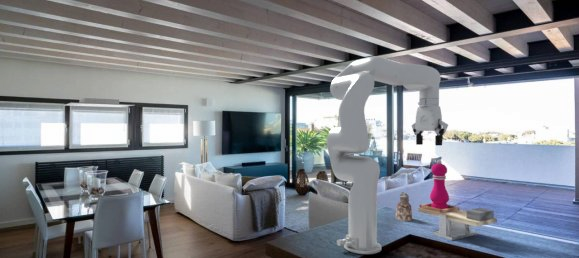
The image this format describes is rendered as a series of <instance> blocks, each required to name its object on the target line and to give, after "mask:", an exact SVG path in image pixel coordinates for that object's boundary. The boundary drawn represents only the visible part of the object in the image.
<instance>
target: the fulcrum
mask: <svg viewBox="0 0 579 258" xmlns="http://www.w3.org/2000/svg"><path fill="white" fill-rule="evenodd" d="M462 210H463V211H467V210H465V209H462ZM438 221H439V222H438V224H439V225H438V226H439V228H438V229H439V230H436V231H433V235H434V236H438V237H440V238H443V239H446V240H449V241H455V240H459V239H465V238H468V237H469V238H470V237H472V236H477V235H478V232H477V231H475V230H471V228H472V227H471V226H472V225H468V224H464V223H460V222H457V221H453V220H449V219H448V216H447V215H443V214H439V217H438ZM464 237H465V238H464Z"/></svg>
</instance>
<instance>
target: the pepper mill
mask: <svg viewBox="0 0 579 258" xmlns="http://www.w3.org/2000/svg"><path fill="white" fill-rule="evenodd" d="M430 171H431V173H432V174H433V175H432V179H433V187H432V189H431V191H430V194H429V199H430V201H431V202H430V203H431V207H433V208H437V209H448V205H449V204H448V202H449V201H450V196H449V193H448V190H447V188H446V181H445V180H446V179H447V178H446V177H447V175H446V174H447V173H448V167H447V166H446V165H445V164H443V163H442V160H441V159H437V161H436V163H434V164H433V165H432V166H431V169H430Z"/></svg>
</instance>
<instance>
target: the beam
mask: <svg viewBox="0 0 579 258" xmlns="http://www.w3.org/2000/svg"><path fill="white" fill-rule="evenodd" d="M431 203H432V202H430V203H429V202H428V203H424V204H419V207H418V212H419V213H422V214H427V215H429V216H433V217H438V218H439V214H443V215H447V216H448V219H449V220H453V221H457V222H460V223H464V224H468V225H471V226H473V227H481V226H487V225H491V224H496V223H498V218H496V217H494V214H495V213H494V211H495V210H493V209H492V210H491V209H488V208H487V209H486V208H484V207H483V208H482V207H478V208H471V209H467V210H466V211H463V210H464V209H460V206H456V205H450V204H448V209H437V208H433V207H431Z"/></svg>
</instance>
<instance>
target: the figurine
mask: <svg viewBox="0 0 579 258" xmlns="http://www.w3.org/2000/svg"><path fill="white" fill-rule="evenodd" d="M409 199H410V198H409V195H408V194H407V192H404V191H402V192H401V193H400V195H399V202H398V203H397V204H396V209H395V211H396V212H395V219H396V220H398V221H401V222H411V221H413V212H412V205H411V203H410V202H409V201H410V200H409Z"/></svg>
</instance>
